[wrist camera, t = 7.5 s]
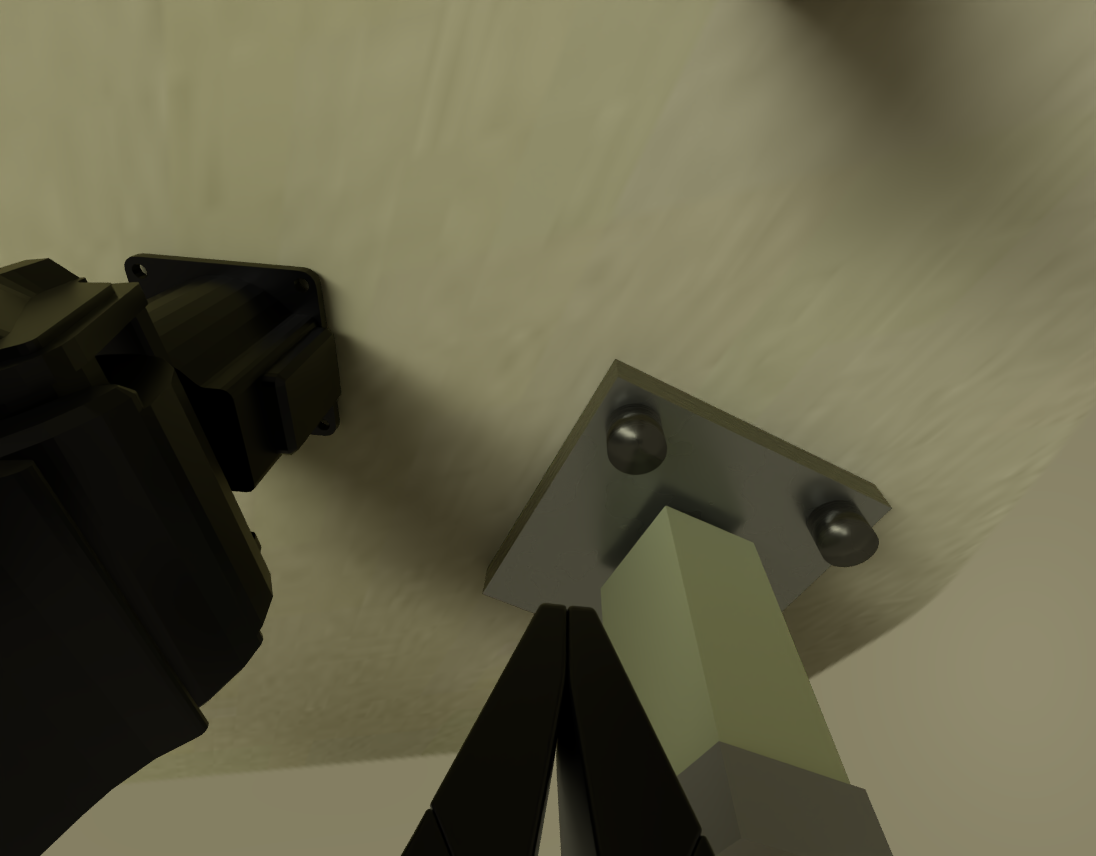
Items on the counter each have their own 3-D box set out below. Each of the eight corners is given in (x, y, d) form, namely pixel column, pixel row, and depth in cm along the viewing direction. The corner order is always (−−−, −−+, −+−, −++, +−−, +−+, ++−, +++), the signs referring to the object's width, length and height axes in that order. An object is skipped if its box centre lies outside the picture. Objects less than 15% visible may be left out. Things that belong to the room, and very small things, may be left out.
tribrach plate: (487, 569, 26) (477, 621, 24) (615, 359, 21) (620, 397, 18) (704, 652, 29) (716, 708, 26) (874, 484, 23) (912, 534, 20)
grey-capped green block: (594, 590, 24) (614, 1003, 13) (663, 499, 21) (760, 925, 10) (683, 623, 24) (770, 1036, 14) (761, 541, 22) (941, 971, 11)
